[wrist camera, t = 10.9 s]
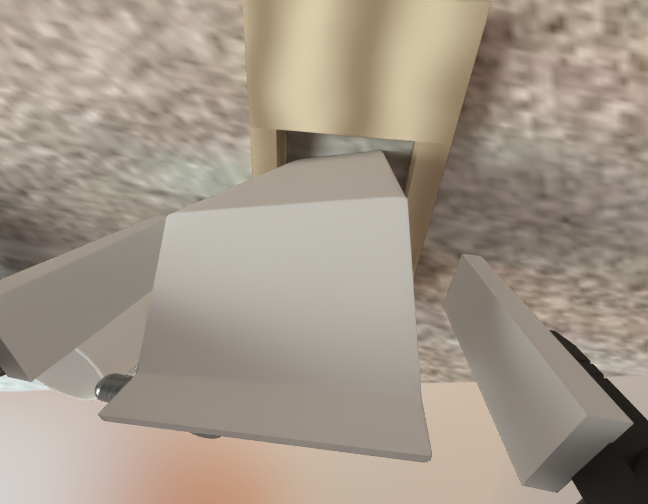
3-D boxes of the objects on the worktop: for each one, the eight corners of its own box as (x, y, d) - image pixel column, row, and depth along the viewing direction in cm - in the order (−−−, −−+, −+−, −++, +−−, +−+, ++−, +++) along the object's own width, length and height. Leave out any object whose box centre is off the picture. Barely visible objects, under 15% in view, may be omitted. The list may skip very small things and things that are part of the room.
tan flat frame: (267, 265, 26) (258, 277, 24) (258, 13, 17) (242, -5, 15) (403, 286, 24) (406, 301, 22) (474, 19, 15) (491, 1, 13)
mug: (221, 330, 32) (147, 431, 21) (166, 330, 34) (72, 423, 23) (186, 247, 27) (66, 324, 16) (123, 252, 29) (-22, 324, 18)
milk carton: (295, 159, 21) (-10, 286, 4) (382, 149, 19) (455, 283, 3) (307, 237, 24) (160, 493, 7) (383, 233, 22) (421, 543, 6)
